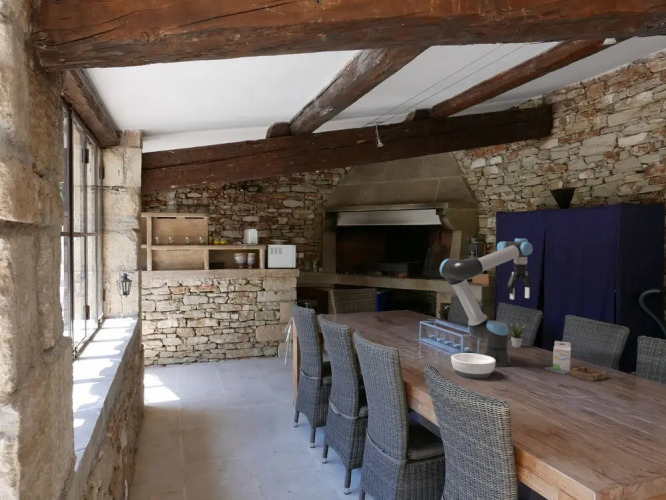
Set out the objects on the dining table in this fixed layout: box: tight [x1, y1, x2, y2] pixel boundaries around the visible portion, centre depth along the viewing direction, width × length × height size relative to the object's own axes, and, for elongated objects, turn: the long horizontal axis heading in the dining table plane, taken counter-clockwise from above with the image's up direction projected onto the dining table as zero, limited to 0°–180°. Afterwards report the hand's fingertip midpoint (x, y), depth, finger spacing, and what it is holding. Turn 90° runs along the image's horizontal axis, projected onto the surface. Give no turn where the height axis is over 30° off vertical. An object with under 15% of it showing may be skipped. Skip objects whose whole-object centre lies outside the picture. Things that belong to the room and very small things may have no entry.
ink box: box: [552, 340, 572, 371], centre depth 267 cm, size 9×5×15 cm, turn 62°
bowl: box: [450, 352, 496, 380], centre depth 257 cm, size 22×22×8 cm
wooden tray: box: [569, 366, 608, 382], centre depth 255 cm, size 12×12×3 cm
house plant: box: [504, 322, 526, 348], centre depth 323 cm, size 14×14×16 cm
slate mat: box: [543, 365, 570, 375], centre depth 267 cm, size 12×12×1 cm
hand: (519, 298), depth 299 cm, fingers open, 13 cm apart
